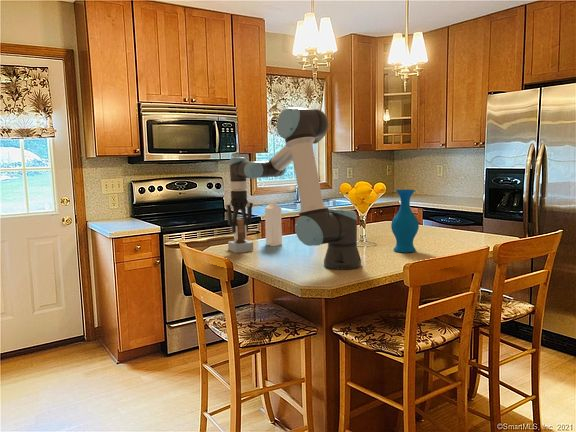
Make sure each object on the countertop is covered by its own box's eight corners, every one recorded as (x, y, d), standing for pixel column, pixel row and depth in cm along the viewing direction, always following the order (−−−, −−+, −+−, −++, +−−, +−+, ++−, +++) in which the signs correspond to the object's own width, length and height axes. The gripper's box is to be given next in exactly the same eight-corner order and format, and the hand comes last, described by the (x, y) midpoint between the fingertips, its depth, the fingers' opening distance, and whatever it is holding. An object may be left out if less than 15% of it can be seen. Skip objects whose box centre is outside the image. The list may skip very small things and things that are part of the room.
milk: (272, 246, 234) (271, 202, 231) (265, 244, 239) (264, 201, 236) (282, 244, 238) (281, 201, 234) (275, 243, 242) (274, 200, 239)
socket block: (253, 250, 225) (253, 242, 224) (236, 252, 220) (235, 244, 220) (245, 247, 232) (245, 239, 232) (228, 249, 228) (228, 241, 227)
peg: (246, 244, 225) (245, 219, 224) (238, 245, 223) (237, 220, 222) (242, 242, 229) (241, 218, 227) (235, 243, 227) (234, 219, 225)
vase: (423, 250, 217) (424, 190, 213) (408, 255, 208) (409, 192, 204) (401, 247, 225) (401, 188, 222) (385, 251, 217) (386, 190, 213)
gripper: (251, 188, 230) (253, 235, 233) (218, 190, 221) (220, 239, 224) (258, 189, 223) (259, 238, 226) (225, 191, 215) (227, 242, 218)
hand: (240, 238), depth 225 cm, fingers closed on peg, 4 cm apart
